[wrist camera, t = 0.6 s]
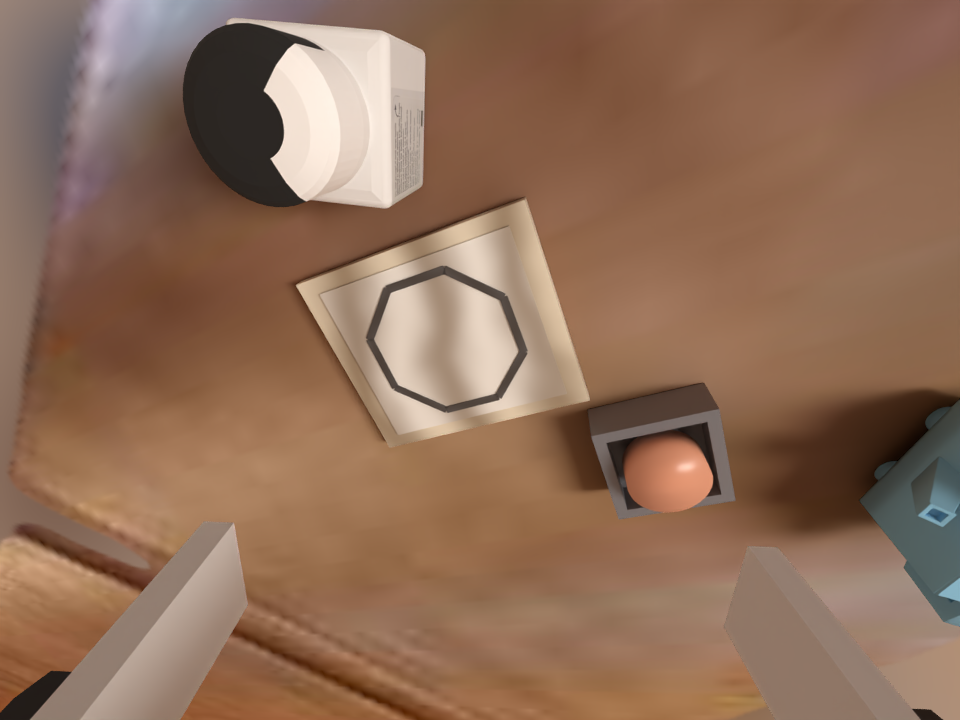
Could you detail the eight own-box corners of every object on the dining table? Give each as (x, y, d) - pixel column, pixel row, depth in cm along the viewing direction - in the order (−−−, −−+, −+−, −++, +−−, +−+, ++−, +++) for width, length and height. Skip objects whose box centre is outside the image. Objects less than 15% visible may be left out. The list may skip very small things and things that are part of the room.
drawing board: (525, 196, 30) (524, 200, 29) (588, 393, 36) (590, 402, 35) (301, 280, 35) (293, 286, 34) (393, 440, 41) (388, 449, 40)
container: (313, 176, 31) (180, 214, 20) (300, 38, 27) (126, -12, 16) (424, 188, 31) (352, 235, 19) (427, 49, 27) (340, 6, 15)
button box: (704, 382, 35) (719, 408, 32) (720, 469, 38) (735, 500, 35) (587, 409, 37) (591, 436, 34) (613, 489, 41) (618, 519, 38)
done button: (695, 421, 34) (706, 443, 31) (708, 481, 36) (718, 504, 34) (614, 439, 35) (618, 460, 33) (631, 494, 38) (636, 518, 36)
